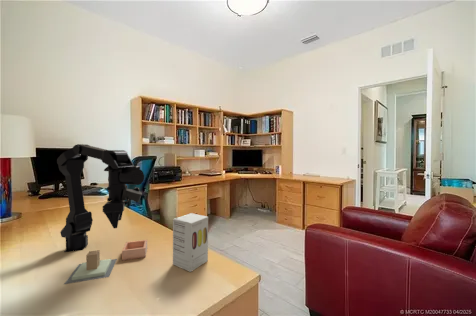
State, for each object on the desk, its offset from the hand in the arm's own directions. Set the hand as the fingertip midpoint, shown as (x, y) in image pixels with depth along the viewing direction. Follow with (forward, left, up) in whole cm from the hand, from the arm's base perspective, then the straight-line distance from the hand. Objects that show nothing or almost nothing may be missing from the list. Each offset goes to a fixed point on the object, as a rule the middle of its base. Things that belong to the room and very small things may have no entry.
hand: (117, 224), depth 81 cm
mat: (-6, -8, -13) cm, 16 cm away
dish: (+6, 0, -13) cm, 14 cm away
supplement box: (+26, -12, -13) cm, 32 cm away
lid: (-6, -8, -13) cm, 16 cm away
